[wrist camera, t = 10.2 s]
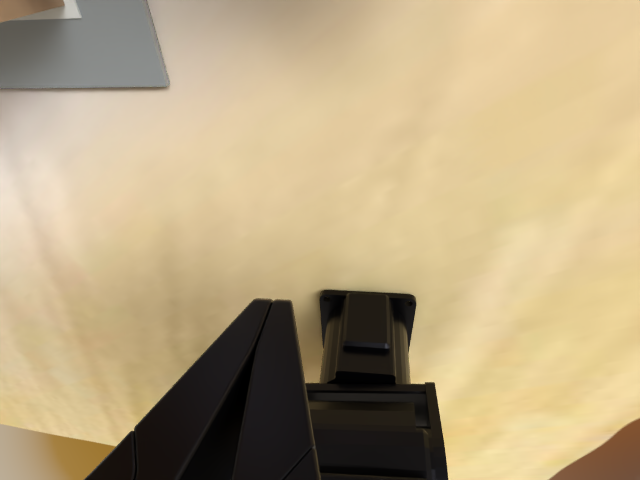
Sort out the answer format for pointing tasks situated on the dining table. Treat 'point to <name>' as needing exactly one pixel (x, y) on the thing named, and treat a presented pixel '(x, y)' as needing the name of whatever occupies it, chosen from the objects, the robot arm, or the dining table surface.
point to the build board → (82, 47)
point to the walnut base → (25, 7)
